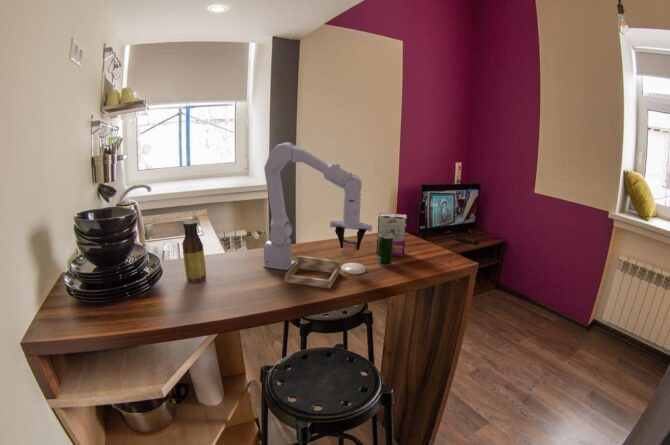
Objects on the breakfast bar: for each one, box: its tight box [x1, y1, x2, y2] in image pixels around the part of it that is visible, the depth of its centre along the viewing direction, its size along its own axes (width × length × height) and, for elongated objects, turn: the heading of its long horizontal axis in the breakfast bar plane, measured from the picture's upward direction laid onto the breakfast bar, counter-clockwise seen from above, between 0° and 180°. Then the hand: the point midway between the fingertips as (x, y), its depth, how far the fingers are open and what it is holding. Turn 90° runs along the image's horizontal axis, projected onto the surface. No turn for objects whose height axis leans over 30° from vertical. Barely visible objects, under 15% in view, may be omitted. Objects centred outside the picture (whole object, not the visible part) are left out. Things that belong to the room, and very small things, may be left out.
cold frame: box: [284, 255, 341, 289], centre depth 126 cm, size 16×13×4 cm
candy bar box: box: [375, 212, 408, 257], centre depth 148 cm, size 11×5×16 cm, turn 81°
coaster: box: [340, 262, 367, 276], centre depth 134 cm, size 9×9×1 cm
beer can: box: [376, 232, 393, 267], centre depth 138 cm, size 5×5×12 cm
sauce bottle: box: [181, 220, 207, 284], centre depth 119 cm, size 7×6×20 cm
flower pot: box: [341, 238, 357, 257], centre depth 130 cm, size 5×5×5 cm
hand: (350, 248), depth 130 cm, fingers closed on flower pot, 5 cm apart
